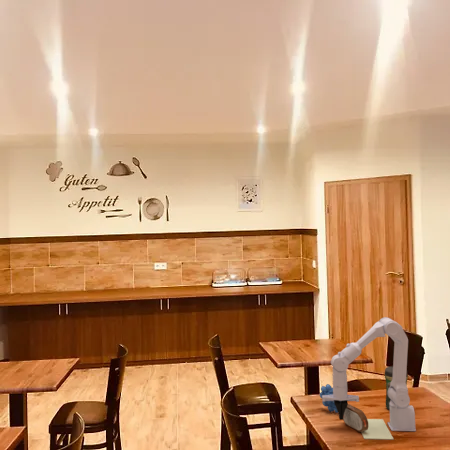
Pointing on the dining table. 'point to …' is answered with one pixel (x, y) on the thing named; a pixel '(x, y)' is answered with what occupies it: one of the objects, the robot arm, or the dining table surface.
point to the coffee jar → (388, 380)
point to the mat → (377, 430)
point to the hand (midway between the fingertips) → (341, 418)
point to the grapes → (331, 406)
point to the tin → (355, 418)
